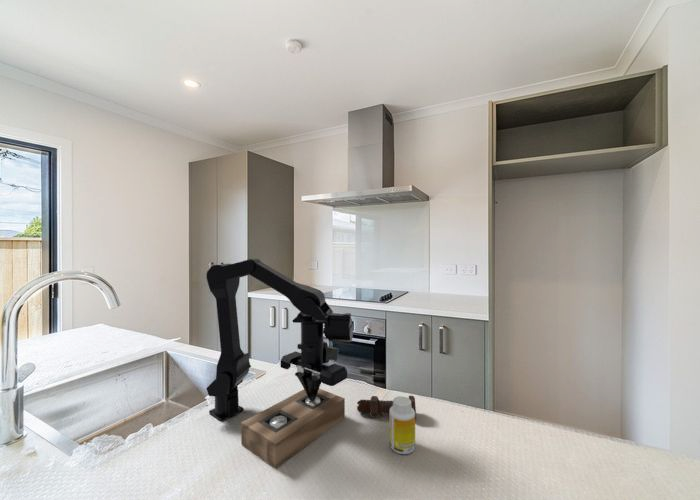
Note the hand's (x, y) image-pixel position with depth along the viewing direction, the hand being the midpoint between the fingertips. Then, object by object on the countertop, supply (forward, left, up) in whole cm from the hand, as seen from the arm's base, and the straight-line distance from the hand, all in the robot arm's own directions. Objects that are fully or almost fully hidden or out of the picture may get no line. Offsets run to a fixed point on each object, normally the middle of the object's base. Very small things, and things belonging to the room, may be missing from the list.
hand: (312, 400), depth 75 cm
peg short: (0, 0, -5) cm, 5 cm away
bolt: (+14, +13, -5) cm, 20 cm away
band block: (0, -5, -5) cm, 7 cm away
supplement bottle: (+23, +5, -5) cm, 24 cm away
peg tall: (0, -11, -5) cm, 12 cm away
